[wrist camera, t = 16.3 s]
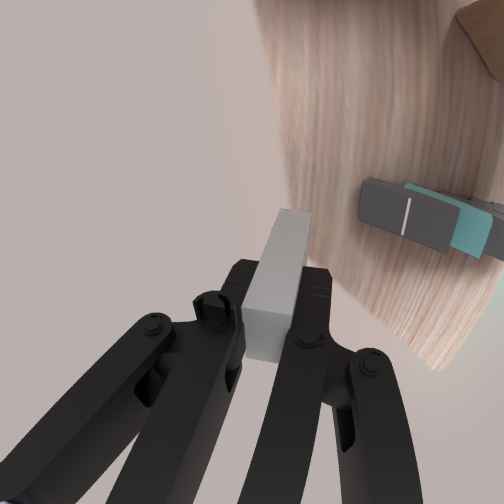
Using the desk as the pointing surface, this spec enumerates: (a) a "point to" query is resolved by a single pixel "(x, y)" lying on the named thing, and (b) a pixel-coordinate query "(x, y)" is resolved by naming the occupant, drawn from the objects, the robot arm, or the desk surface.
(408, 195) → the domino
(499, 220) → the domino
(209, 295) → the robot arm
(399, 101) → the desk surface
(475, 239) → the domino
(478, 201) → the domino
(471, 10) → the block
